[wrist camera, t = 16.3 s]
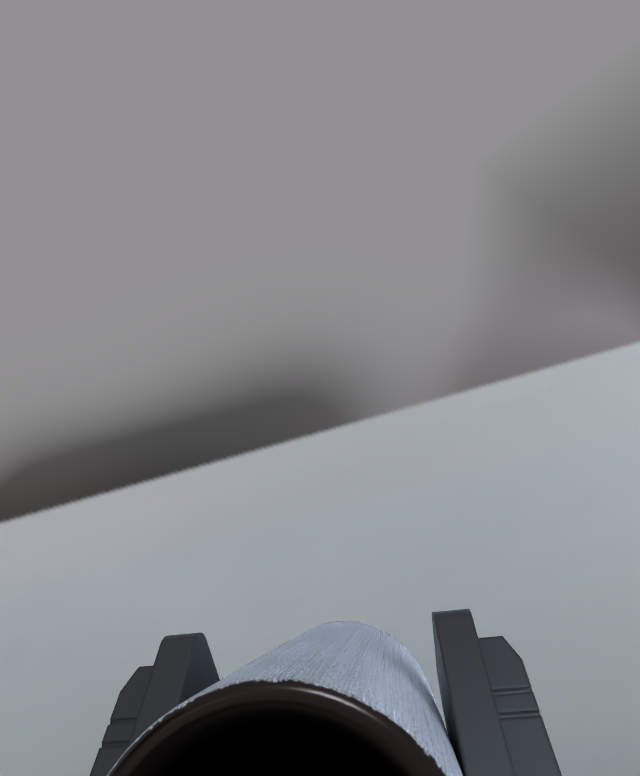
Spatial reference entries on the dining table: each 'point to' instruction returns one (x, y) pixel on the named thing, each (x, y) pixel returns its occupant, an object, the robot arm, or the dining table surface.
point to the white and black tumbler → (306, 715)
